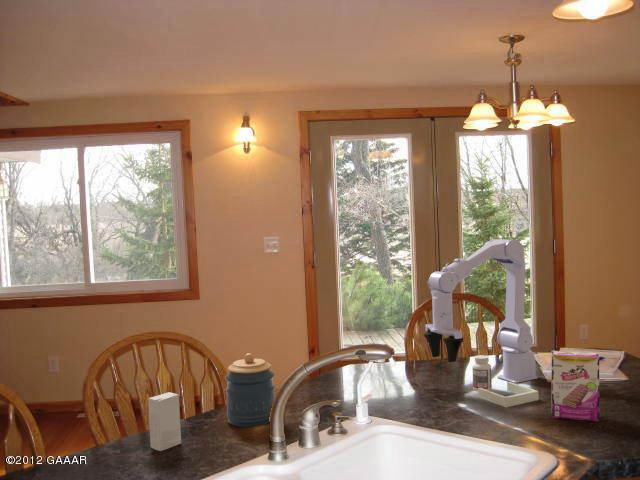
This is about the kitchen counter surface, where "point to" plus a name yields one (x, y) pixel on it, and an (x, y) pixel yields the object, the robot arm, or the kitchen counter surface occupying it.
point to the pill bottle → (482, 373)
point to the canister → (249, 392)
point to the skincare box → (164, 421)
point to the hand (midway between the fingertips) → (443, 359)
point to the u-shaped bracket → (521, 396)
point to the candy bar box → (575, 385)
